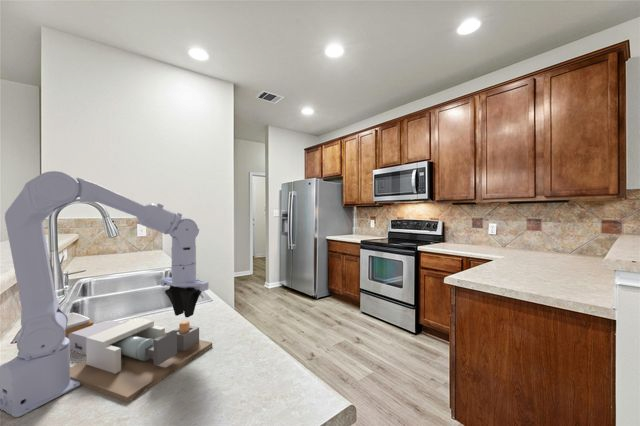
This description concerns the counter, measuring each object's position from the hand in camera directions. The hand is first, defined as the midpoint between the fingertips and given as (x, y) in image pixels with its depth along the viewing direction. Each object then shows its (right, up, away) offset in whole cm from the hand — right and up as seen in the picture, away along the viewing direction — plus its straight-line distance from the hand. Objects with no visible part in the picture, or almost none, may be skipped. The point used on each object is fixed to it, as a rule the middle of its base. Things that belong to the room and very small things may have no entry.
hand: (184, 315), depth 69 cm
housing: (-7, -8, -4) cm, 11 cm away
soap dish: (-39, -9, +7) cm, 41 cm away
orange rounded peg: (0, -6, 0) cm, 6 cm away
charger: (-24, -9, +5) cm, 26 cm away
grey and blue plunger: (-7, -8, -6) cm, 12 cm away
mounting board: (-7, -9, -5) cm, 13 cm away
